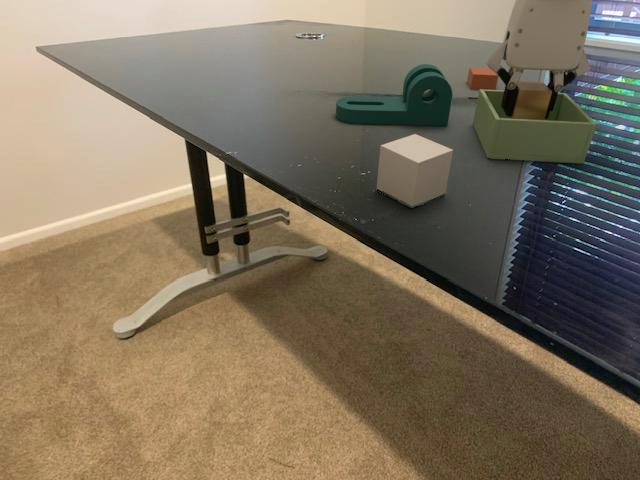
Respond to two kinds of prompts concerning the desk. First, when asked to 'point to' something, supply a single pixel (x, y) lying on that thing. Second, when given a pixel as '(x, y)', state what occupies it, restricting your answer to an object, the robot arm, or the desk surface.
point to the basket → (533, 131)
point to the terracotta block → (482, 79)
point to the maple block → (531, 100)
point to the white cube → (414, 169)
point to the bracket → (403, 102)
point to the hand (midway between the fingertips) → (525, 113)
